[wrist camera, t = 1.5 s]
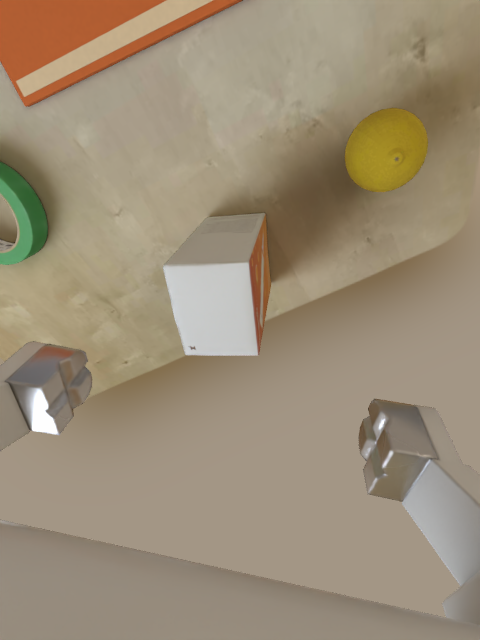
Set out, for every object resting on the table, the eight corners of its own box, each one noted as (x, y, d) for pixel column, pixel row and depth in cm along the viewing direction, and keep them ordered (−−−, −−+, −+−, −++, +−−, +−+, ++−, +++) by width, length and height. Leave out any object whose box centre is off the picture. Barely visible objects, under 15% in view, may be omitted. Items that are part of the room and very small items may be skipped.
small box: (272, 284, 36) (259, 358, 25) (217, 286, 37) (183, 357, 26) (267, 210, 32) (249, 261, 21) (205, 215, 33) (158, 265, 22)
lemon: (326, 151, 28) (334, 164, 22) (380, 91, 25) (408, 84, 19) (368, 195, 30) (388, 219, 23) (423, 142, 27) (464, 153, 20)
